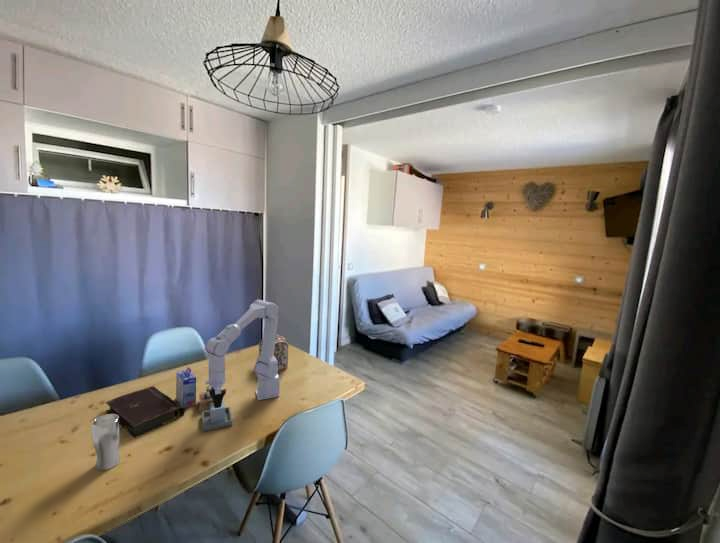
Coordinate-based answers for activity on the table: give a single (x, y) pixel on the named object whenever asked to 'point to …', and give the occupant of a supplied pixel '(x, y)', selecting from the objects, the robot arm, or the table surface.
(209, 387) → the cylinder
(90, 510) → the table surface
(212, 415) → the block
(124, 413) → the diary
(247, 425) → the table surface
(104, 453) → the beer glass
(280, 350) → the decorative jar
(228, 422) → the tray
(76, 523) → the table surface
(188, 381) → the ink cartridge box
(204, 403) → the bore block
